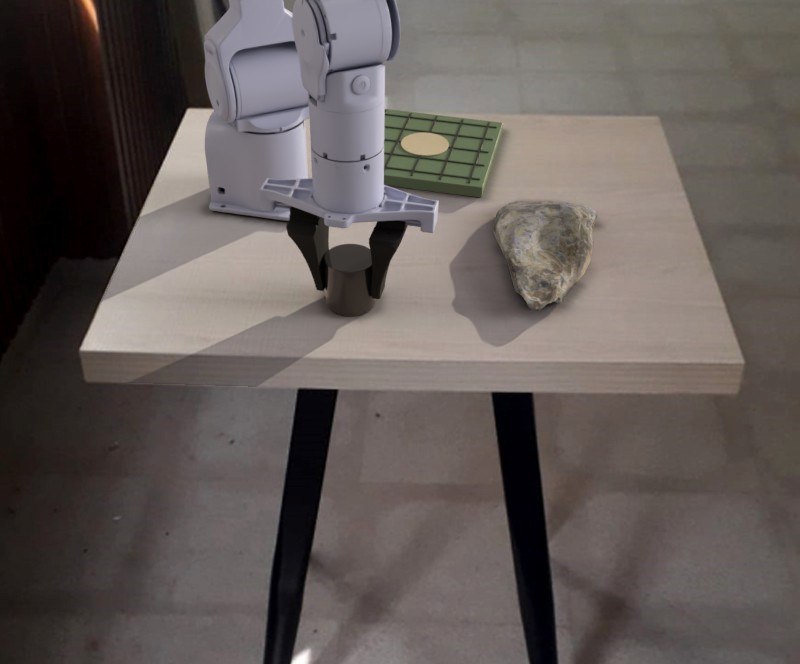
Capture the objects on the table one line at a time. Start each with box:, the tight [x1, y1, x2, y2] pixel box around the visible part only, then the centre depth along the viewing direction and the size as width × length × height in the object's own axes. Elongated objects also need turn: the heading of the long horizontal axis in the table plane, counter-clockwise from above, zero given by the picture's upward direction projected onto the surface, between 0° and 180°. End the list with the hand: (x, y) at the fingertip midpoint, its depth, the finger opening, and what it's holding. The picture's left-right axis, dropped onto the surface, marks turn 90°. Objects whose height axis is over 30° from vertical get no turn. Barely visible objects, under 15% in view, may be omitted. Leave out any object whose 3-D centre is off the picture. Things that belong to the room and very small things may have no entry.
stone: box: [492, 199, 598, 311], centre depth 89 cm, size 20×4×10 cm
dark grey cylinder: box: [324, 243, 377, 317], centre depth 83 cm, size 4×4×5 cm
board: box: [384, 108, 504, 198], centre depth 104 cm, size 15×15×1 cm
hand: (350, 288), depth 83 cm, fingers closed on dark grey cylinder, 4 cm apart
